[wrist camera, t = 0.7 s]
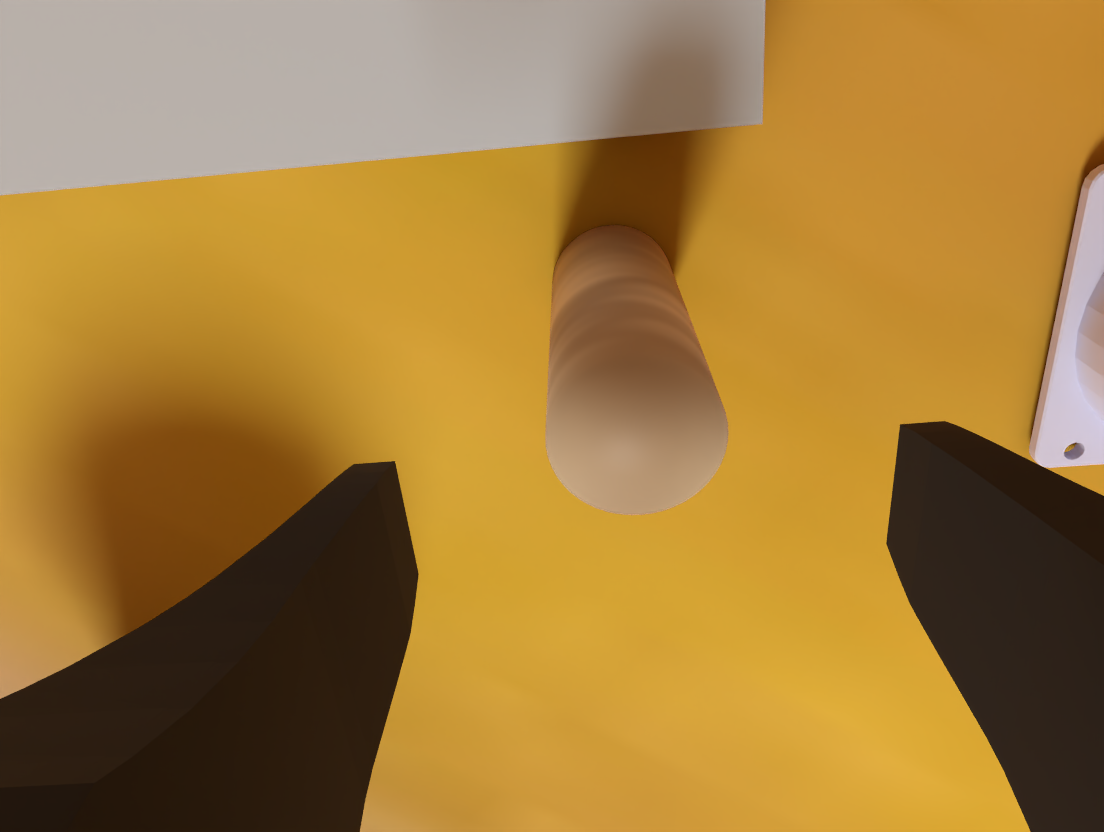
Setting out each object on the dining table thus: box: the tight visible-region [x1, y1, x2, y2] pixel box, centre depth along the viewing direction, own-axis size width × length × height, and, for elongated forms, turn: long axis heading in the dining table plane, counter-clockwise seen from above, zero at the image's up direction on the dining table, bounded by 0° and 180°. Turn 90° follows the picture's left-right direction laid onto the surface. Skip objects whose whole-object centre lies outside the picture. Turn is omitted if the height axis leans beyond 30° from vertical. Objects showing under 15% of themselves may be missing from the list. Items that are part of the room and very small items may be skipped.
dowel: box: [546, 225, 728, 515], centre depth 17 cm, size 3×3×8 cm
